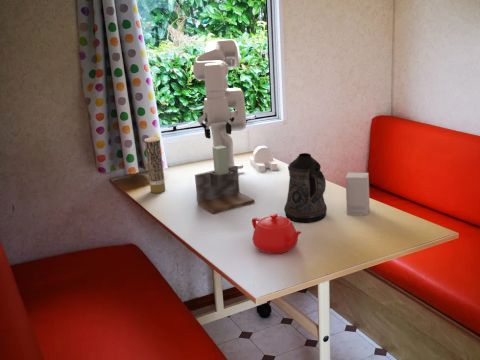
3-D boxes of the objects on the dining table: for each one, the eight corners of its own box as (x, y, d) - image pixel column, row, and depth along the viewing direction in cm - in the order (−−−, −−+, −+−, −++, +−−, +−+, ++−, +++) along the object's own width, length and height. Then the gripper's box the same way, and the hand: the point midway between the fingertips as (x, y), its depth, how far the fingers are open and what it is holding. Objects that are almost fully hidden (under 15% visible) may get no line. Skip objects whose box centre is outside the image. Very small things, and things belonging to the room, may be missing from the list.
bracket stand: (237, 194, 247) (235, 165, 243) (254, 202, 235) (252, 172, 231) (197, 204, 237) (194, 174, 233) (213, 214, 226) (210, 182, 222)
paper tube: (166, 188, 261) (161, 136, 254) (163, 193, 255) (157, 140, 247) (152, 188, 262) (146, 137, 255) (149, 193, 256) (142, 141, 248)
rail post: (224, 181, 238) (221, 145, 233) (229, 183, 235) (226, 147, 230) (215, 183, 236) (212, 147, 231) (220, 186, 233) (217, 149, 228)
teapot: (237, 244, 196) (234, 212, 192) (270, 231, 205) (268, 200, 201) (285, 267, 177) (283, 232, 174) (319, 251, 186) (318, 218, 182)
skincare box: (369, 210, 219) (369, 172, 214) (367, 216, 213) (367, 177, 208) (348, 208, 222) (348, 171, 217) (345, 215, 216) (345, 176, 211)
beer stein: (297, 205, 228) (295, 147, 221) (341, 213, 218) (340, 151, 210) (276, 219, 216) (273, 157, 208) (321, 228, 205) (320, 163, 197)
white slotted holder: (259, 172, 276) (258, 151, 273) (249, 163, 293) (248, 143, 290) (278, 170, 279) (277, 149, 275) (266, 161, 295) (265, 141, 292)
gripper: (229, 90, 231) (232, 130, 236) (191, 96, 223) (195, 138, 228) (238, 92, 225) (241, 133, 230) (200, 98, 217) (204, 141, 222)
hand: (218, 135), depth 229 cm, fingers open, 9 cm apart
